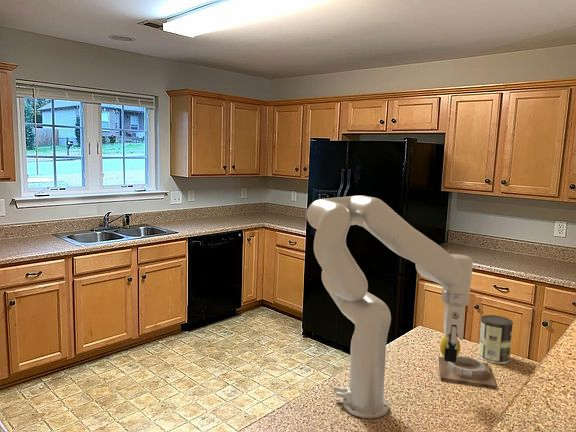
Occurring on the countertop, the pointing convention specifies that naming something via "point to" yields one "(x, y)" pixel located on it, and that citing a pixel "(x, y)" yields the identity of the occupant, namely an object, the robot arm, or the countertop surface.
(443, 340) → the lemon
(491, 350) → the coffee can
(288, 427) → the countertop surface
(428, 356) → the countertop surface
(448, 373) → the walnut board
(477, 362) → the steel ring
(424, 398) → the countertop surface
